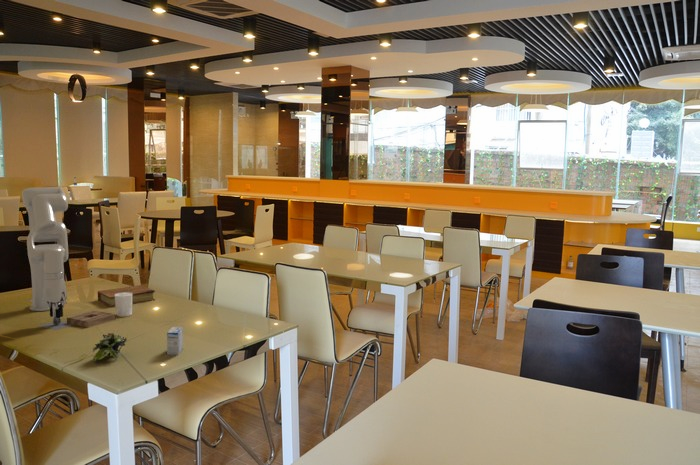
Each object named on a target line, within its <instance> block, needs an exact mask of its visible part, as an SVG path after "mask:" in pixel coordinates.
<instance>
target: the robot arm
mask: <svg viewBox="0 0 700 465" xmlns="http://www.w3.org/2000/svg"><path fill="white" fill-rule="evenodd" d="M21 198H22V202H23V205H24V207H25V209H26V211H27V214H28V223H29V224H28V225H29V226H28V227H29V234H28V236H27V239H26V246H27V248H26V250H27V256H28V261H29V265H30V273H31V275H30V276H31V289H32V299H30V300H29V302H30V303H32V305H31V306H29V310H30V311H32V312H45V311H49V317H50V318H53V310H52V302H53V303H56V309H55V314H56V318H59V317H61V318H62V317H64V310H63V309H64V307H65V306H66V305H67V304H68V302H67V299H68V298H67V297H68V295H67V285H66V281H65V268H64V263H65V262H67V261H68V260H69V244H68V231H67V227H66V225H65V223H63V221H57V218H56V213H57V212H58V213H59V212H66V211H67V210H68V208H69V201H68V197H67V195H66V193H65V191H64V189H63V188H62V187H57V186H52V187H51V186H50V187H49V186H47V187H46V186H45V187H41V186H40V187H37V186H36V187H35V186H34V187H27V188H25V189H23V190H22V191H21ZM45 242H46V244H37V245H35V243H45ZM47 242H48V243H49V242H50V243H51V242H56V243H53V244H52V243H51V244H50V243H49V244H47ZM59 303H60V304H59Z"/></svg>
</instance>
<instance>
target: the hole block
mask: <svg viewBox="0 0 700 465" xmlns="http://www.w3.org/2000/svg"><path fill="white" fill-rule="evenodd" d="M115 315H116V314H115V313H110V312H105V311H99V310H94V309H93V310H90V311H85V312H83V313H78V314H74V315H72V316H68V317H66V322H67V323H69V324H74V325H73V326H78V327H79V326H80V327H83V328H91V327H95V326H99V325H101V324H105V323H109V322H112V321H115V319H116V317H115Z"/></svg>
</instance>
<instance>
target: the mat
mask: <svg viewBox="0 0 700 465" xmlns="http://www.w3.org/2000/svg"><path fill="white" fill-rule="evenodd" d="M72 326H75V325H74V324H69V323H67V321H62V320H61V323H60V324H53V321H52V322H48V323H44V324H42V325H41V324H40V325H38V327H39V328H45V329H48V330H49V329H50V330H54V331H57V330H61V329H65V328H68V327H72Z"/></svg>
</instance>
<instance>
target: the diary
mask: <svg viewBox="0 0 700 465" xmlns="http://www.w3.org/2000/svg"><path fill="white" fill-rule="evenodd" d="M125 292H128V293H132V305H133V304H139V303H145V302H146V301H147V302H152V300H153V301H156V299H155V298H154V293H155V292H156V291H155V290H154V289H152V288H149V287H147V286H145V285H142V284H139V285H133V286H125V287H117V288H110V289H105V290H98V291H97V300H98V301H99V302H100V303H102V304H103V305H106V307H107V306H108V307H109V308H116V306H115V294H117V293H125ZM147 302H146V303H147Z"/></svg>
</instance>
